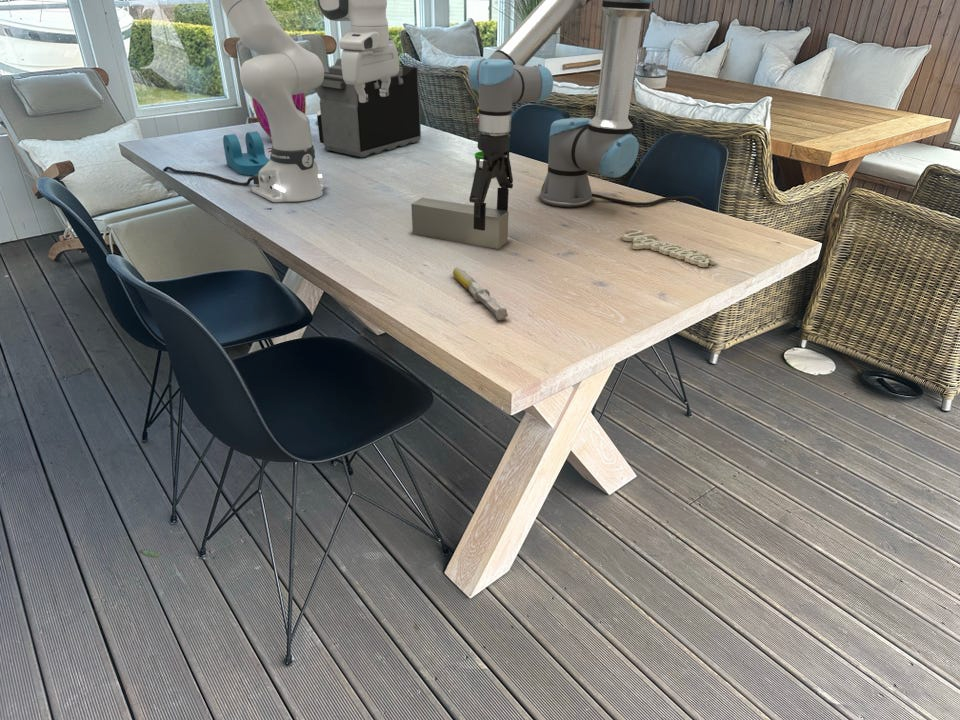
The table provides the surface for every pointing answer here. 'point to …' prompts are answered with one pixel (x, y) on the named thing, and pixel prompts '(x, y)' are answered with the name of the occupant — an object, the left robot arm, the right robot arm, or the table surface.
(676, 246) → the decorative sign
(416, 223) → the bar
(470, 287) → the syringe
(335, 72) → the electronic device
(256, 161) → the camera mount
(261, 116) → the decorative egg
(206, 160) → the table surface
